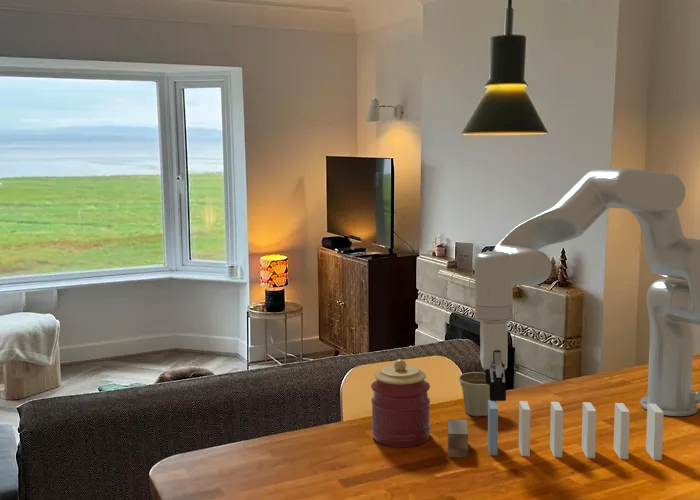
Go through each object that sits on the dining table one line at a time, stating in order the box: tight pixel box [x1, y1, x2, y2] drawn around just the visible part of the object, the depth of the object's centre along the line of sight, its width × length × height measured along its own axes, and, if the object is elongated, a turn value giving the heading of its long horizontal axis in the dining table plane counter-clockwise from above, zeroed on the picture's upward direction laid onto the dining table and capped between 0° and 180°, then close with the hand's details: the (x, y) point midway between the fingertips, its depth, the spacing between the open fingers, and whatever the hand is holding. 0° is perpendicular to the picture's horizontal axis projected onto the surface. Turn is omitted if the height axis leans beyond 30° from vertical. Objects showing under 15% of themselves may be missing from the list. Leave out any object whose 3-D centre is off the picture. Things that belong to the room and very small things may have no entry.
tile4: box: [549, 401, 564, 458], centre depth 143 cm, size 2×5×10 cm, turn 174°
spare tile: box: [487, 400, 499, 456], centre depth 145 cm, size 2×5×10 cm, turn 173°
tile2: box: [613, 402, 631, 460], centre depth 142 cm, size 2×5×10 cm, turn 174°
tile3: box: [581, 401, 597, 459], centre depth 142 cm, size 2×5×10 cm, turn 173°
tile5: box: [518, 400, 531, 457], centre depth 144 cm, size 2×5×10 cm, turn 173°
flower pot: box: [458, 371, 490, 417], centre depth 167 cm, size 9×9×9 cm
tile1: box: [645, 404, 665, 461], centre depth 141 cm, size 2×5×10 cm, turn 173°
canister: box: [370, 358, 431, 448], centre depth 152 cm, size 13×13×18 cm
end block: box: [447, 418, 469, 458], centre depth 146 cm, size 4×8×5 cm, turn 173°
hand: (495, 391), depth 144 cm, fingers open, 9 cm apart
